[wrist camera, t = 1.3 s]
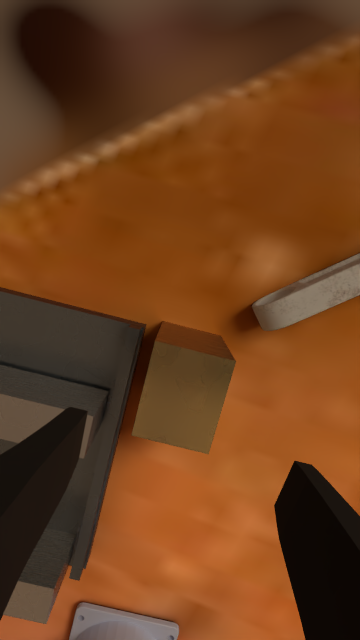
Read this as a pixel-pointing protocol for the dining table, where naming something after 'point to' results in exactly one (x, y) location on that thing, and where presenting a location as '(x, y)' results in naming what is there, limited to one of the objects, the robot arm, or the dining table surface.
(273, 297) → the wrench
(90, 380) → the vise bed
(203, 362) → the brass block
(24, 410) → the bar
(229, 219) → the dining table surface
